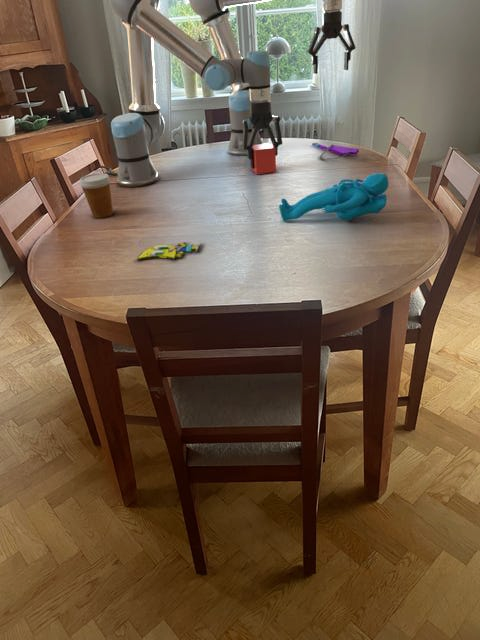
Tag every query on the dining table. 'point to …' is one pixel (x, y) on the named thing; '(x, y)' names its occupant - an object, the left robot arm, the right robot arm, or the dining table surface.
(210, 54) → the left robot arm
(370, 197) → the toy
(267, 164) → the brick
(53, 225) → the dining table surface
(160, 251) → the toy
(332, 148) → the musical instrument
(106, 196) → the disposable coffee cup
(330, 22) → the right robot arm
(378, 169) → the dining table surface
